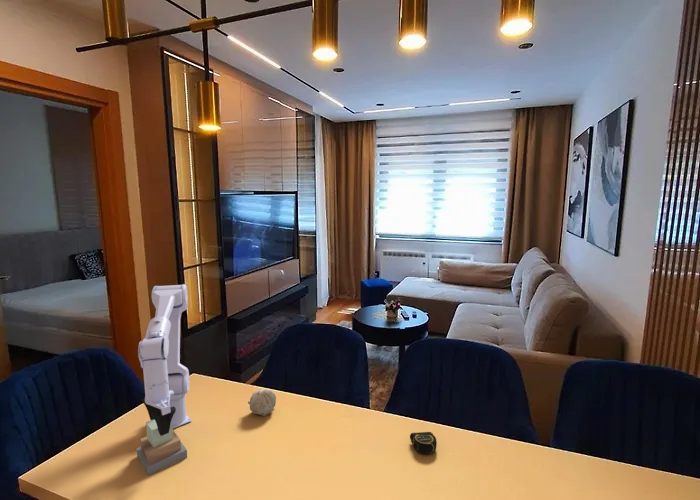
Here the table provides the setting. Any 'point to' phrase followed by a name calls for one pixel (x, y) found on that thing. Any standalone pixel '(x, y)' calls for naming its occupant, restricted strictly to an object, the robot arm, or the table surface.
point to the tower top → (160, 448)
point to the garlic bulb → (262, 402)
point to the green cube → (157, 434)
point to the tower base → (161, 460)
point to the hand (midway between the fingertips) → (160, 427)
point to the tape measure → (423, 442)
